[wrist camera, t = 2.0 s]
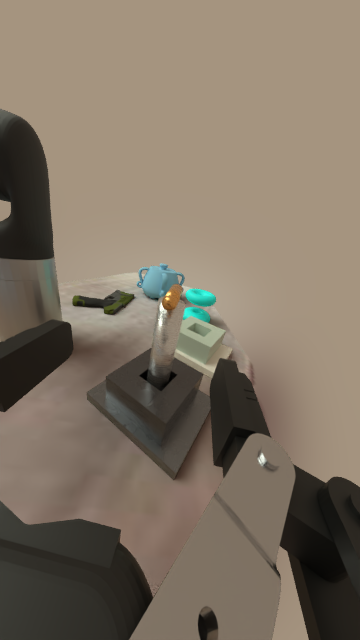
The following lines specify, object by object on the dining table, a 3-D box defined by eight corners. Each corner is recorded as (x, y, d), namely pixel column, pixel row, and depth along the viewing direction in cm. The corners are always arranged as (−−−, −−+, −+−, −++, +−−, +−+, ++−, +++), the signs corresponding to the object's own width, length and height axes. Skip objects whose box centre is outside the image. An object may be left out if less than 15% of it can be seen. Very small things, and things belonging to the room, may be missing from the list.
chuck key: (159, 418, 23) (185, 301, 16) (137, 413, 24) (153, 294, 16) (168, 383, 29) (190, 285, 22) (150, 378, 29) (166, 280, 22)
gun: (99, 290, 68) (135, 299, 68) (66, 306, 50) (115, 318, 50) (99, 284, 66) (136, 293, 67) (65, 298, 49) (116, 310, 49)
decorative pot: (160, 288, 84) (164, 260, 78) (184, 299, 76) (191, 269, 70) (132, 291, 72) (135, 258, 67) (157, 305, 64) (163, 269, 58)
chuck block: (87, 399, 25) (85, 369, 23) (142, 361, 35) (145, 337, 33) (173, 480, 19) (184, 450, 16) (212, 406, 29) (223, 380, 26)
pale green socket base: (153, 345, 41) (157, 323, 38) (179, 329, 50) (183, 311, 48) (214, 379, 34) (223, 356, 32) (230, 353, 44) (238, 334, 41)
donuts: (181, 290, 52) (193, 285, 60) (175, 319, 56) (187, 311, 64) (212, 300, 49) (220, 294, 57) (203, 330, 53) (212, 320, 61)
